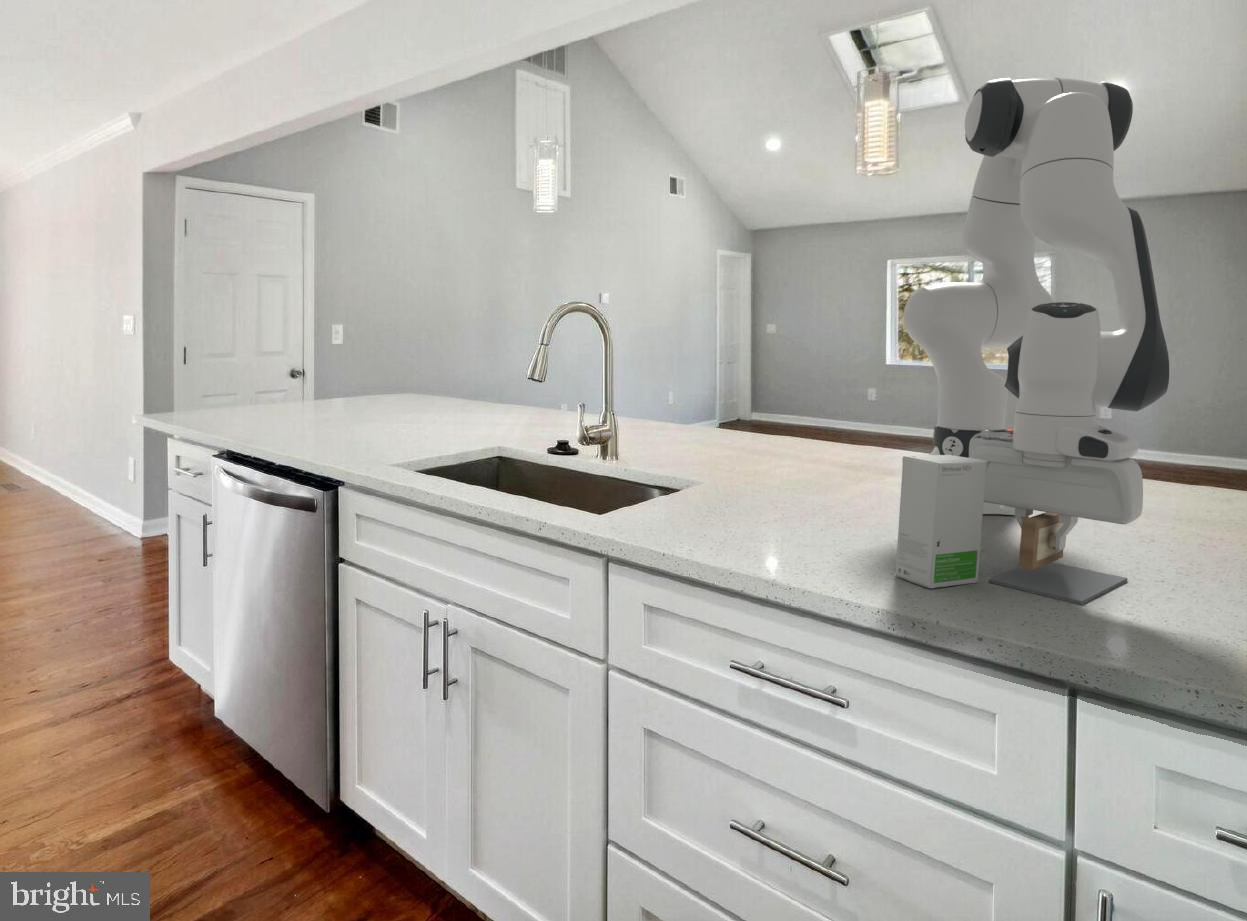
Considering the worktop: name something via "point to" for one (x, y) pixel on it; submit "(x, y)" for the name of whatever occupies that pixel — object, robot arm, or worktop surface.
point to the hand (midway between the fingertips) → (1043, 546)
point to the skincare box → (940, 520)
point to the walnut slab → (1038, 541)
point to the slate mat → (1060, 582)
